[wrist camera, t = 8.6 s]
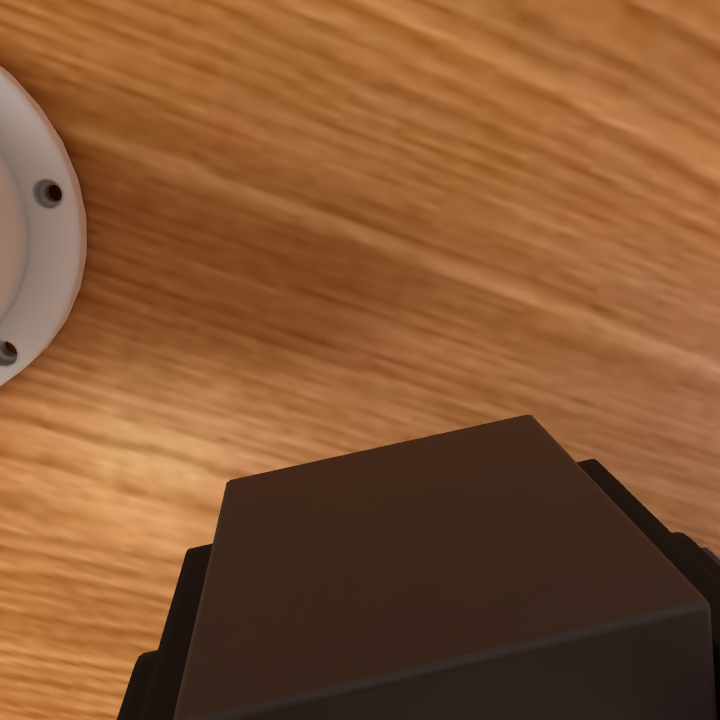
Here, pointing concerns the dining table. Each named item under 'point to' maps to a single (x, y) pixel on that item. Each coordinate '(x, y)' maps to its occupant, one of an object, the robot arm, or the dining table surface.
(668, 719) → the block
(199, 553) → the robot arm
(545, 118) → the dining table surface
